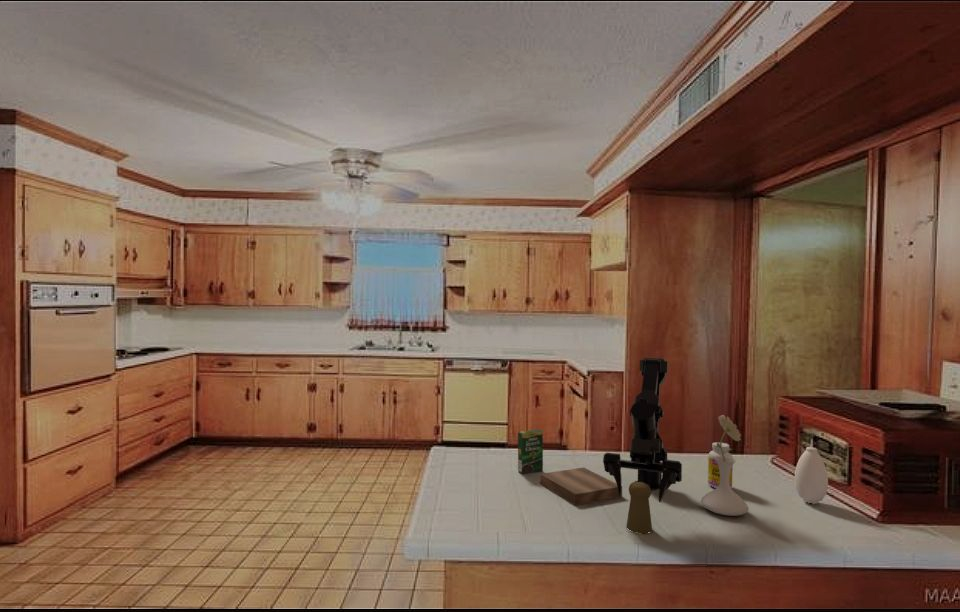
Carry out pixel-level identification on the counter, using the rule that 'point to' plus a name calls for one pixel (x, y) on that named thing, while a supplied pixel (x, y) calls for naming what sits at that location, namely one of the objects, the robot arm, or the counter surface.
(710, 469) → the supplement bottle
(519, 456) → the coffee box
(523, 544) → the counter surface
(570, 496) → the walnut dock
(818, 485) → the sauce bottle
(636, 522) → the cork
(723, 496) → the flower in vase
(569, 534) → the counter surface
